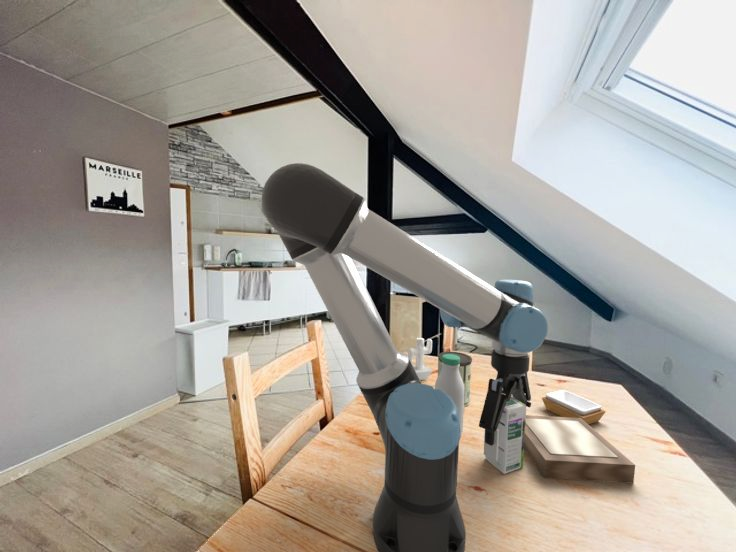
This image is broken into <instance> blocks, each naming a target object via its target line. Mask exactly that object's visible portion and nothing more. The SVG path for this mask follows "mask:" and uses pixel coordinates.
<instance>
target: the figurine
mask: <svg viewBox="0 0 736 552" xmlns="http://www.w3.org/2000/svg"><path fill="white" fill-rule="evenodd" d="M415 340H416V342H415V343H416V344H415V345H416V346H415V347H410V348H408V349H407V356H408V357H409V360H410V362H411V364H412V363H413V359H414V356H415V364H412V366H413V368H414V370H415V372H416V374H417V376H418V378H419V380H420V381H427V380H428V379H429V377H430V376H431V375H432V373H433V372H434V370H433V369H431V368H430V367H428V366H427V365H426V364H424V355H430V354H431V353H432V351H433V340H432V339H431V338H427V340H426V346H425V338H423V337H416V339H415ZM426 379H427V380H426Z"/></svg>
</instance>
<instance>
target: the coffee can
mask: <svg viewBox="0 0 736 552" xmlns="http://www.w3.org/2000/svg"><path fill="white" fill-rule="evenodd" d="M444 354H453V355H457V356H459V357H460V366H459V373H460V376H461V378H462V381H463V384H464V408H466V407H468V406H469V405H470V403H471V380H472V379H471V377H472V376H471V375H472V362H473V358H472V357H471V356H470V355H468V354H466V353H463V352H458V351H443V352H440V353H438V355H437V377H438V376H439V374H440V372H441V369H442V355H444Z"/></svg>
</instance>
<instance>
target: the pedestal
mask: <svg viewBox="0 0 736 552" xmlns="http://www.w3.org/2000/svg"><path fill="white" fill-rule="evenodd" d="M524 452H525V453H527V455H528V457H529V458H530V460H531V461H532V462H533V464H534V465H535V467H536V468H537V469H538V471H539V473H540V474H541V476H542V477H543V478H544V479H555V480H556V479H558V480H573V481H588V482H589V481H590V482H591V481H592V482H603V483H604V482H605V483H607V482H608V483H624V484H634V482H635V473H636V471H635V469H636V464H634V462H633V461H632V460H631V459H629V458H628V457H627V456H625V455H624V454H623V453H622V452H621V451H619V450H618V449H617V448H616V447H615V446H614V445H613V444H612V443H610V441H608V440H607V439H606V438H605V437H604V436H603V435H601V434H600V433H599V432H598V431H596V430H595V429H594V428H593V427H592V426H591V424H587V423H586V422H585V421H584V420H583V419H581V418H571V417H561V416H547V415H529V414H528V415H527V414H526V422H525V440H524Z"/></svg>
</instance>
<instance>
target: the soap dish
mask: <svg viewBox="0 0 736 552" xmlns="http://www.w3.org/2000/svg"><path fill="white" fill-rule="evenodd" d="M541 400H542V402H543V405H544V407H545V408H546V410H547V411H549V412H551V413H553V414H555V415H557V416H558V417H571V418H581V419H583V420H584V421H585V422H586V423H587V424H588V425H591V424H594V423H598V422H599V421H600V420H601V419H602V417H603V416H604V414H605V413H606V412H607V411H606V410H604V409H602V405H600V404H598V403H596V402H594V401H592V400H590V399H587V398H586V397H582V396H581V395H577V394H575V393H573V392H570V391H568V390H565V389H561V390H557V391H551V392H547V393H545V396H542V397H541Z"/></svg>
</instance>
